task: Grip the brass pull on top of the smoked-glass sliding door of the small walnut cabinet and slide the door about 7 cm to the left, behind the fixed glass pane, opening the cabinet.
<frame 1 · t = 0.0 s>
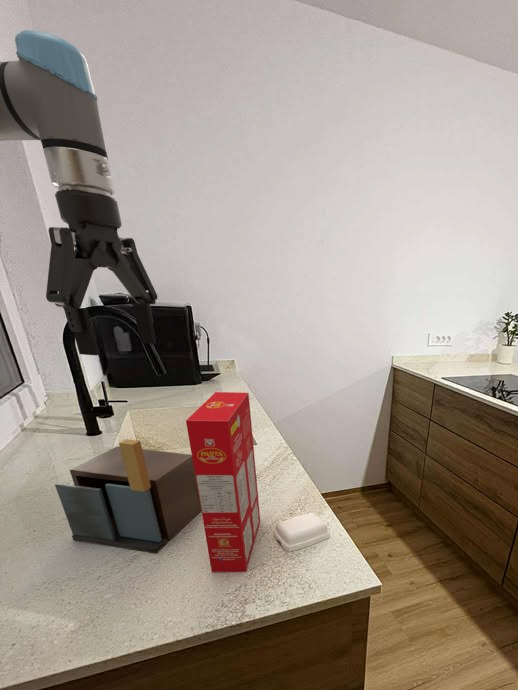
hand: (121, 348, 65), 30 cm above the worktop, tool pointing down, fingers open, 13 cm apart
food packaging: (238, 545, 68), on the worktop
cabinet: (147, 520, 73), on the worktop
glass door: (128, 492, 62), point 10 cm above the worktop, slide at 0.0 cm
soap: (302, 536, 71), on the worktop
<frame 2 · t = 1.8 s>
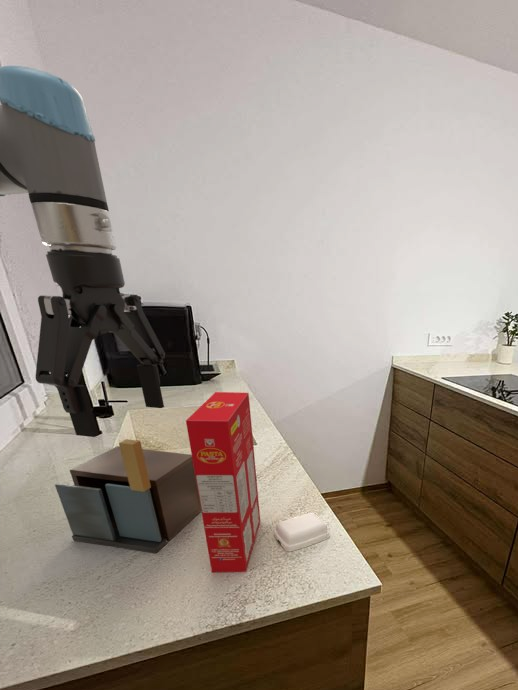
hand: (125, 419, 56), 23 cm above the worktop, tool pointing down, fingers open, 13 cm apart
nothing on the worktop moved.
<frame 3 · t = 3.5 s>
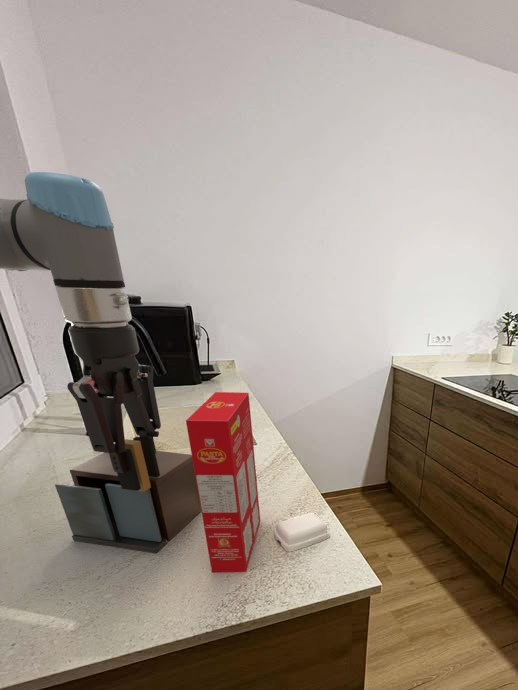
hand: (141, 481, 61), 12 cm above the worktop, tool pointing down, fingers open, 4 cm apart
nothing on the worktop moved.
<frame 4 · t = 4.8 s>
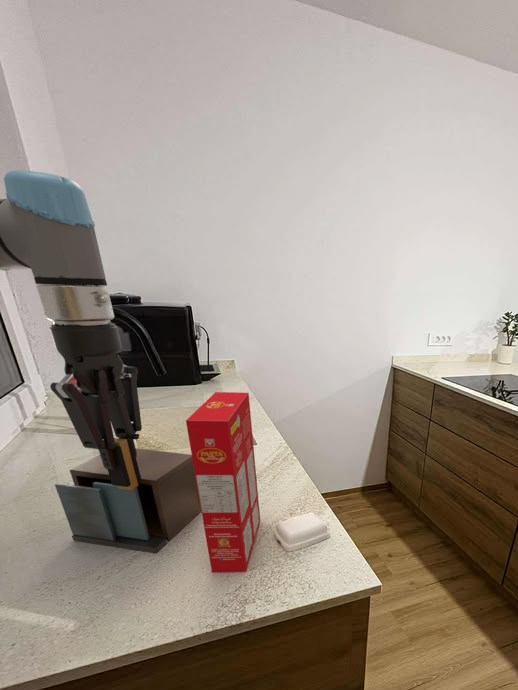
hand: (126, 481, 61), 12 cm above the worktop, tool pointing down, fingers closed on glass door, 2 cm apart
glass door: (116, 490, 62), point 10 cm above the worktop, slide at 2.3 cm, touching gripper
everything else where it was.
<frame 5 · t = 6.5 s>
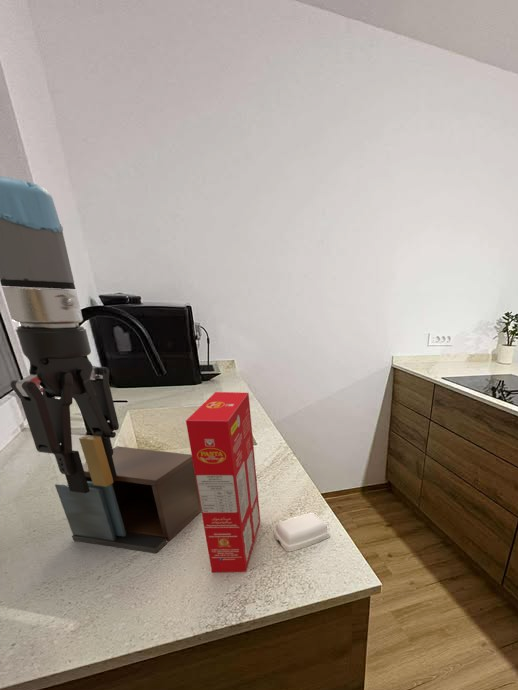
hand: (94, 483, 61), 12 cm above the worktop, tool pointing down, fingers open, 5 cm apart
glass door: (91, 487, 63), point 10 cm above the worktop, slide at 6.7 cm
everything else where it was.
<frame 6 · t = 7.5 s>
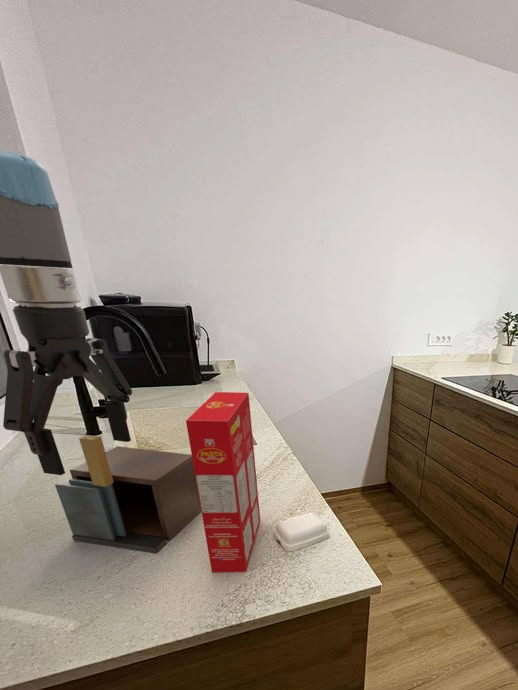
hand: (91, 455, 60), 16 cm above the worktop, tool pointing down, fingers open, 12 cm apart
nothing on the worktop moved.
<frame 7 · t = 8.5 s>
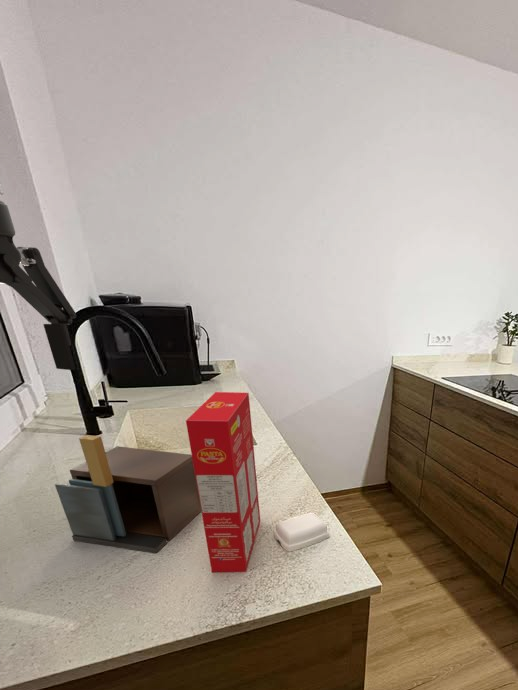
hand: (25, 378, 55), 28 cm above the worktop, tool pointing down, fingers open, 13 cm apart
nothing on the worktop moved.
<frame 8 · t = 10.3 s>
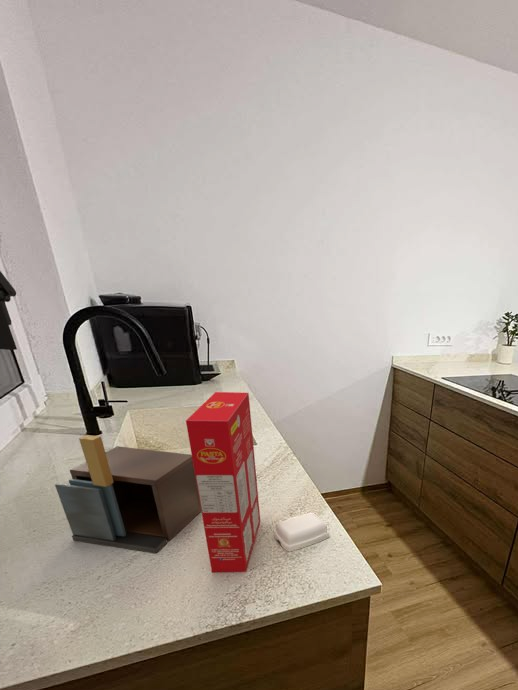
nothing on the worktop moved.
at the end: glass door slide at 6.7 cm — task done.
